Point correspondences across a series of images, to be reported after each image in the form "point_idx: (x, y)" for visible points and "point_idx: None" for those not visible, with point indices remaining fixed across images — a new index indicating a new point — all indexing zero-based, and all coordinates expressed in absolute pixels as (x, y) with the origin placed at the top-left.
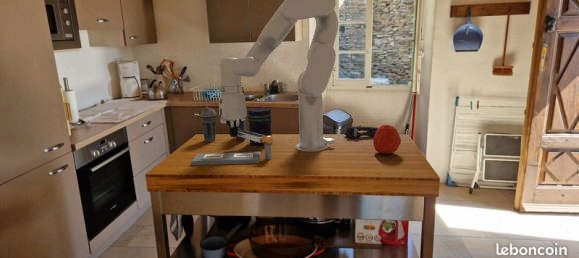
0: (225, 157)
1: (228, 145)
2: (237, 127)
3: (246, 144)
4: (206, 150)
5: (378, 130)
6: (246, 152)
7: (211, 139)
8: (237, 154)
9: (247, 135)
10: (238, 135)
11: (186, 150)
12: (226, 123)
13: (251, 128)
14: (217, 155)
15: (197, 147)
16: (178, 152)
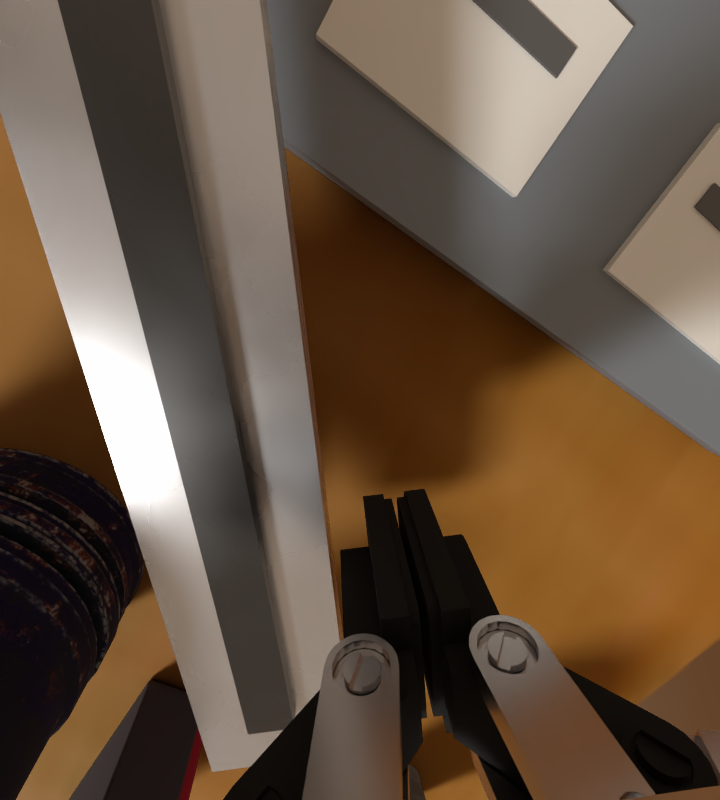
0: (669, 133)
1: None
2: (349, 637)
3: None
4: (528, 607)
5: None
6: (362, 180)
7: None
8: (518, 126)
9: (291, 256)
10: (329, 531)
11: (626, 674)
12: (678, 744)
13: (13, 718)
14: (693, 257)
15: None
16: (692, 656)
